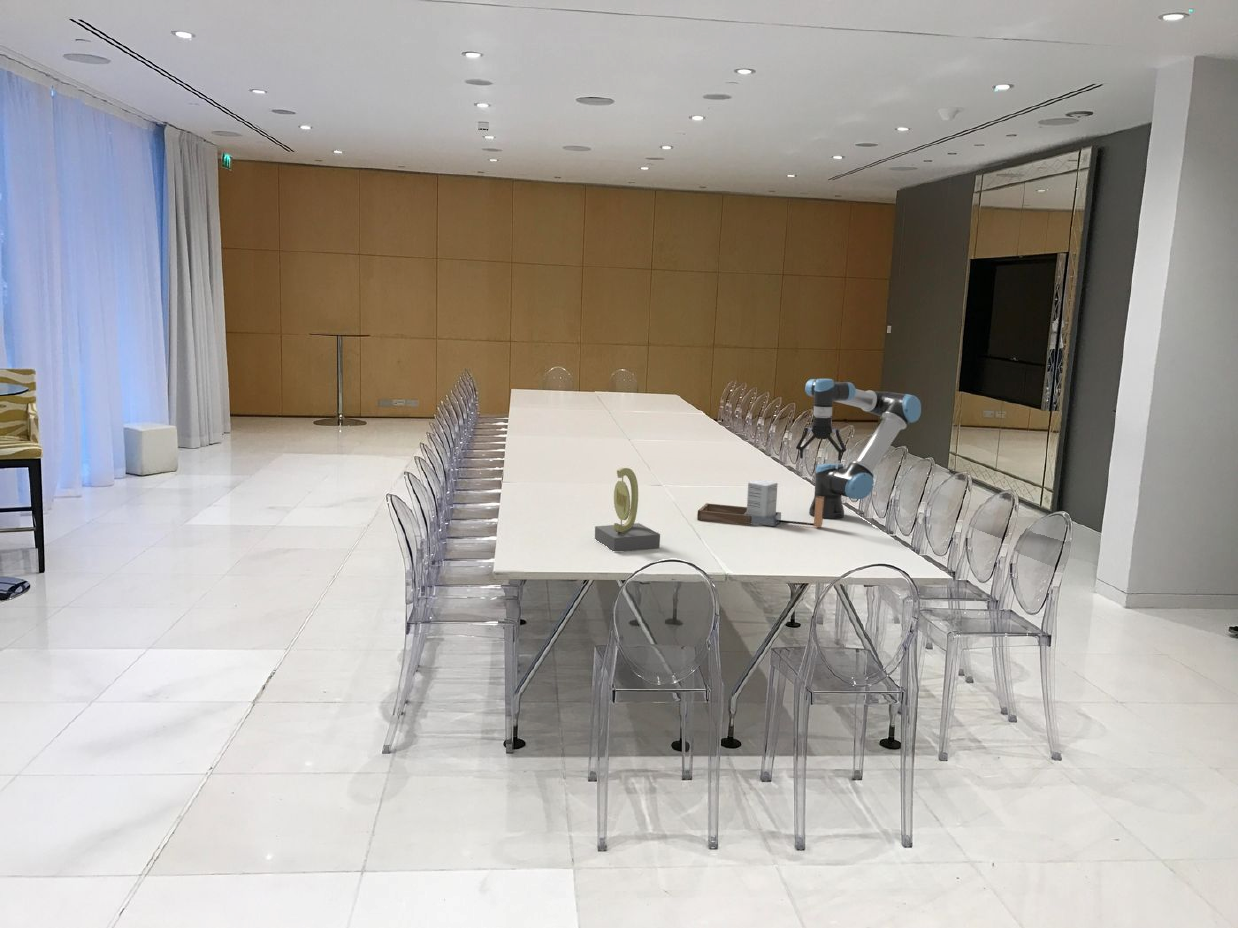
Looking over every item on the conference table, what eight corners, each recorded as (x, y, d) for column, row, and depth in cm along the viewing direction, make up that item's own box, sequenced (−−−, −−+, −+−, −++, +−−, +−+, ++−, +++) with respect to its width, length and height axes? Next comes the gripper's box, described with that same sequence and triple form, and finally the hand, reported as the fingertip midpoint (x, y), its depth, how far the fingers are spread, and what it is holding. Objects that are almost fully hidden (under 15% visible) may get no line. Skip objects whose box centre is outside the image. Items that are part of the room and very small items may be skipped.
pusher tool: (747, 516, 431) (749, 487, 429) (823, 523, 422) (825, 494, 419) (742, 522, 418) (743, 493, 416) (819, 530, 409) (821, 500, 407)
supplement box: (757, 517, 429) (759, 479, 426) (776, 521, 424) (778, 482, 421) (745, 521, 422) (747, 482, 419) (764, 525, 416) (766, 485, 413)
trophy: (594, 540, 384) (596, 463, 379) (638, 536, 391) (641, 461, 386) (614, 552, 367) (616, 472, 362) (659, 548, 375) (662, 470, 370)
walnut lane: (705, 512, 438) (706, 503, 437) (756, 517, 432) (757, 508, 431) (697, 520, 422) (697, 510, 422) (749, 525, 416) (750, 516, 415)
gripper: (791, 416, 410) (788, 466, 414) (853, 419, 403) (850, 470, 407) (793, 413, 417) (790, 463, 421) (854, 416, 410) (851, 467, 414)
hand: (820, 467), depth 414 cm, fingers open, 13 cm apart
